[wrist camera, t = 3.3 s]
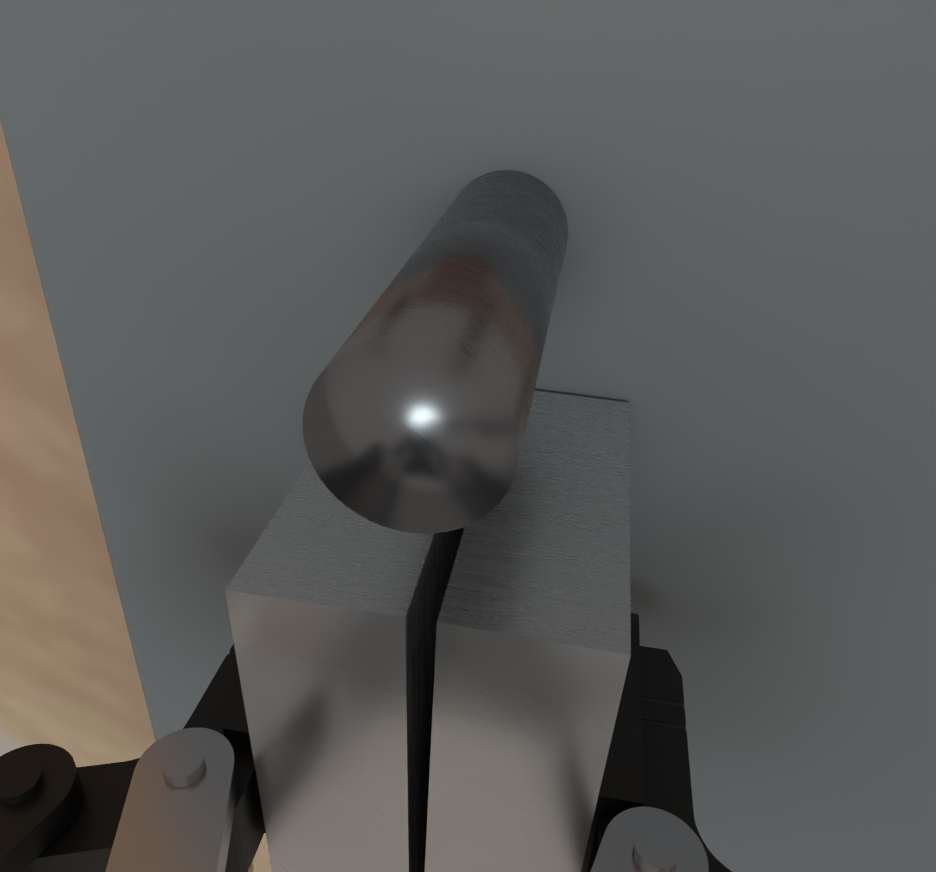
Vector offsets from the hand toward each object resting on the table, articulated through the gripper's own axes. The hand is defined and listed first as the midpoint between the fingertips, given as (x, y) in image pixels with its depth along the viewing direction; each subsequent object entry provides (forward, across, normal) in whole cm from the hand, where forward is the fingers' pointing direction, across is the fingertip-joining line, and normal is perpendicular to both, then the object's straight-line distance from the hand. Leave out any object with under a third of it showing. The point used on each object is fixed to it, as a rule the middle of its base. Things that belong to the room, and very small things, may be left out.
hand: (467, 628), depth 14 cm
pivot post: (+2, 0, -6) cm, 7 cm away
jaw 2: (+2, -1, +2) cm, 3 cm away
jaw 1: (+2, +1, +2) cm, 3 cm away
